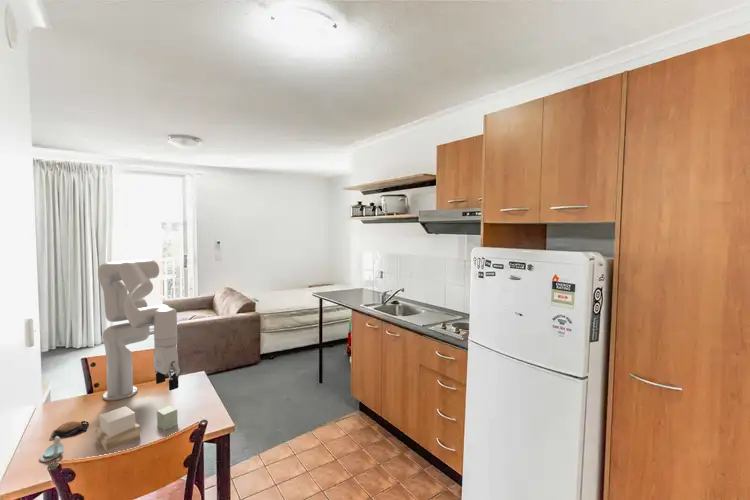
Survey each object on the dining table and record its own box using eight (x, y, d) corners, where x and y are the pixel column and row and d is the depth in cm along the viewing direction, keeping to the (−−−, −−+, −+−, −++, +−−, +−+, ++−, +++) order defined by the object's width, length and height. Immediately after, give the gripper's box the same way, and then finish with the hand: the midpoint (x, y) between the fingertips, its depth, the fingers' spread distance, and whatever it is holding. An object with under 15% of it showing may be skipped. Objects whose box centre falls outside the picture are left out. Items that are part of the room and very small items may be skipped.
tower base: (96, 442, 127) (95, 429, 127) (128, 429, 135) (127, 417, 135) (107, 453, 122) (106, 439, 121) (140, 439, 130) (139, 425, 129)
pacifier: (39, 466, 114) (64, 457, 119) (37, 447, 114) (62, 439, 118) (39, 455, 120) (63, 447, 124) (38, 437, 119) (62, 430, 123)
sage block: (157, 425, 138) (157, 410, 138) (170, 420, 142) (170, 405, 142) (163, 430, 135) (163, 414, 135) (177, 424, 139) (177, 409, 139)
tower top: (100, 428, 127) (99, 415, 127) (125, 419, 134) (125, 405, 133) (109, 436, 122) (108, 422, 122) (135, 426, 129) (135, 412, 129)
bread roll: (48, 443, 127) (47, 433, 127) (53, 431, 134) (53, 421, 134) (86, 434, 133) (86, 424, 132) (89, 423, 140) (89, 414, 139)
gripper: (144, 339, 138) (145, 383, 139) (167, 348, 128) (168, 395, 129) (165, 335, 144) (166, 377, 145) (188, 343, 135) (189, 388, 136)
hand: (167, 385), depth 137 cm, fingers open, 9 cm apart
